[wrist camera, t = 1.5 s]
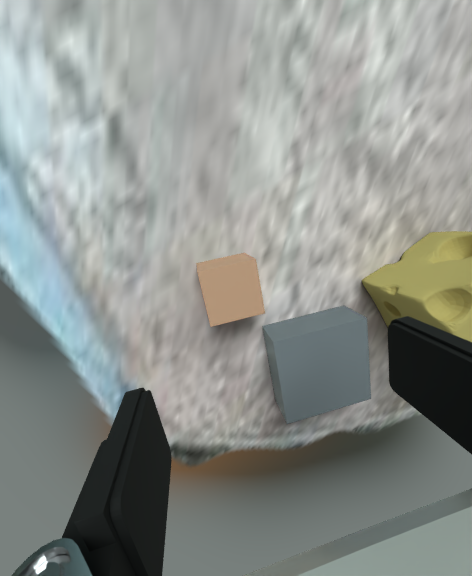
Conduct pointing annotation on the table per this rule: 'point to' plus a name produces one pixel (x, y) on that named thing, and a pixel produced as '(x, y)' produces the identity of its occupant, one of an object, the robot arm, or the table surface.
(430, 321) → the cheese
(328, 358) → the pedestal
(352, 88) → the table surface
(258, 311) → the cube
